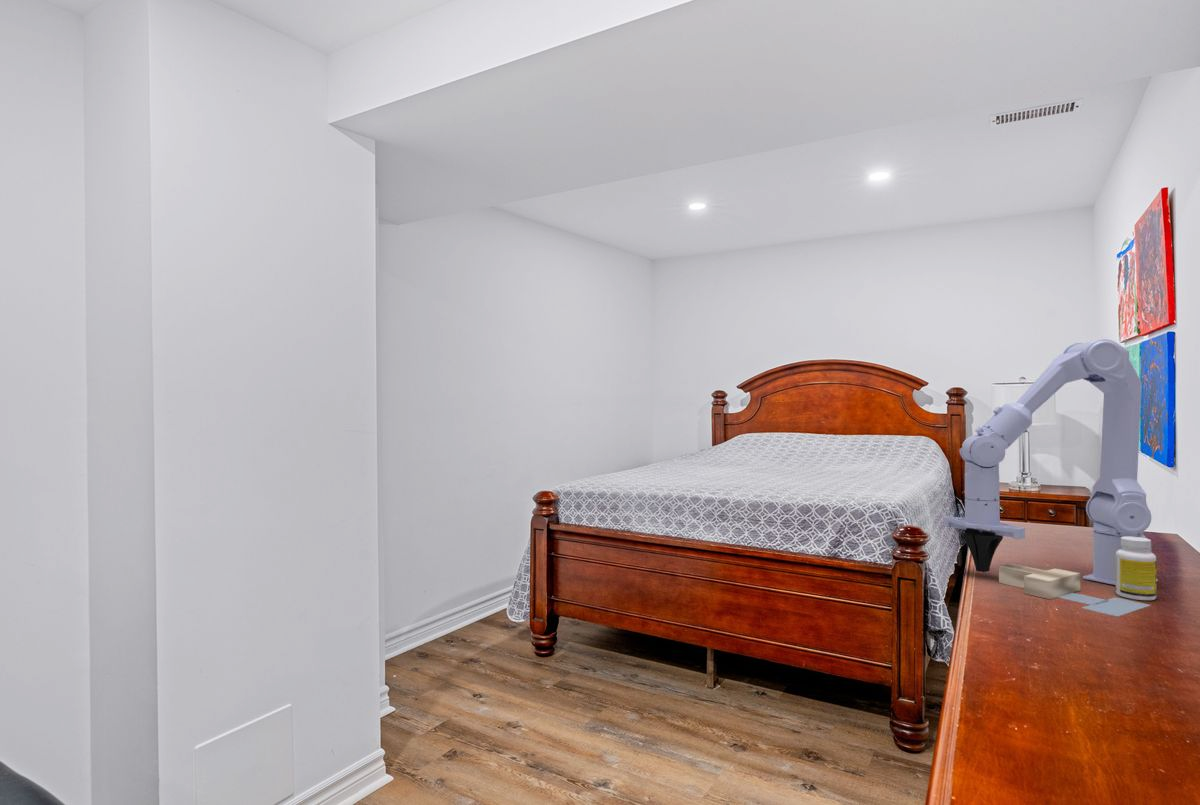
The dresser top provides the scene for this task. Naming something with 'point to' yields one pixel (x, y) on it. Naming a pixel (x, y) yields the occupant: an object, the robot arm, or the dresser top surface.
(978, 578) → the dresser top surface
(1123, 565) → the supplement bottle
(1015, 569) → the maple t block
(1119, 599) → the slate t outline
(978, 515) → the robot arm
